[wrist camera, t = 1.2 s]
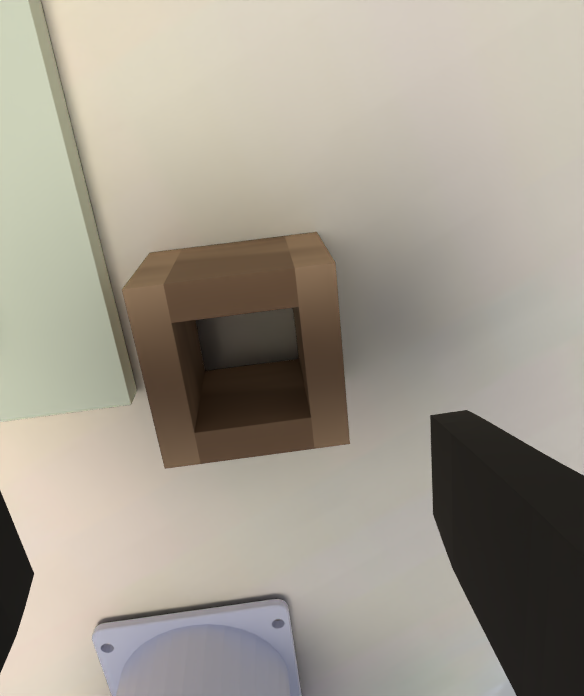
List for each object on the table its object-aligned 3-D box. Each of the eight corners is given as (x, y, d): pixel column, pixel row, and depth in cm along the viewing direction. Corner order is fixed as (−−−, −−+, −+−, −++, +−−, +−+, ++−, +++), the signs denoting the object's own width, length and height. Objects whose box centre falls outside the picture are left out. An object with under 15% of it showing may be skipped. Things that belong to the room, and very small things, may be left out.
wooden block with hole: (330, 381, 19) (349, 443, 15) (181, 400, 19) (164, 468, 15) (316, 232, 17) (335, 262, 13) (149, 252, 17) (121, 289, 13)
